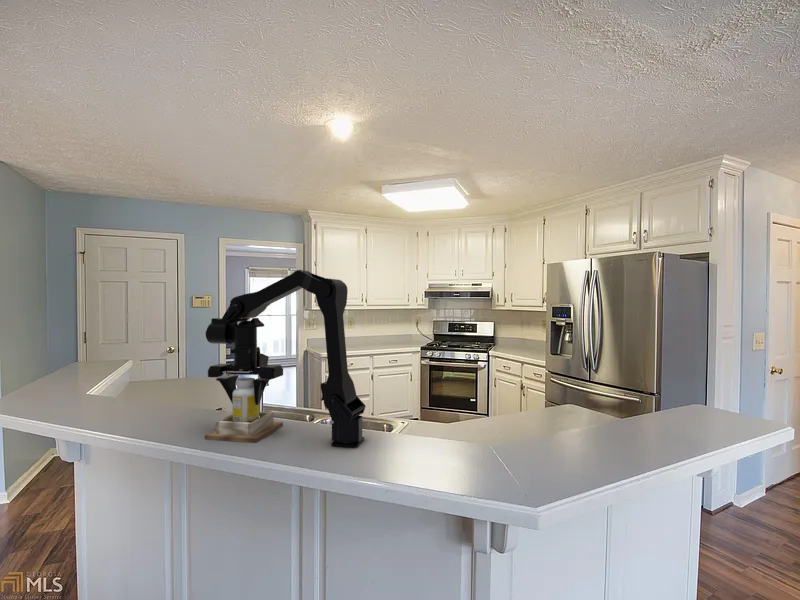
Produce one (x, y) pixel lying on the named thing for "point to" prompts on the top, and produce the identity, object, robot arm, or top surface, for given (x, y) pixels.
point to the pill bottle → (244, 401)
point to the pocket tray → (244, 429)
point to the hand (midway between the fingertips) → (245, 404)
